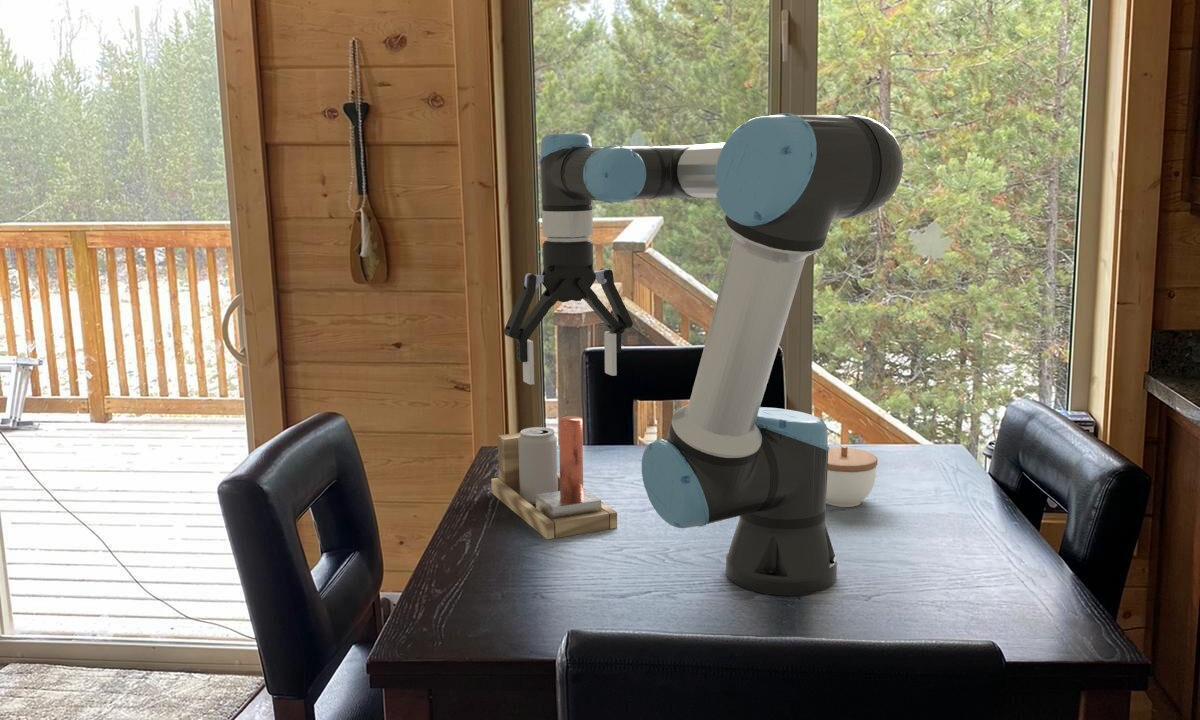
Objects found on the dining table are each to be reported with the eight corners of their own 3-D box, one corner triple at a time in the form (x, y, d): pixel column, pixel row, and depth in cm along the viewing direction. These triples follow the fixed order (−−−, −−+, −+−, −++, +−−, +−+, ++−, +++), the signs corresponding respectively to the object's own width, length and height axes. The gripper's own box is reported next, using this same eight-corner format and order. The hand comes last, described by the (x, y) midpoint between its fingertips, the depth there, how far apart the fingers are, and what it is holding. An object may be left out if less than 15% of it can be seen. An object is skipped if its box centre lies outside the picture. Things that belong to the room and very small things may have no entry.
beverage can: (556, 506, 184) (555, 435, 182) (518, 506, 184) (516, 435, 182) (559, 493, 190) (557, 425, 188) (521, 493, 190) (519, 425, 188)
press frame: (617, 527, 174) (616, 465, 172) (546, 539, 169) (545, 476, 167) (555, 483, 196) (554, 428, 194) (491, 492, 191) (490, 436, 189)
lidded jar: (870, 491, 190) (873, 438, 188) (880, 512, 179) (882, 456, 178) (807, 490, 191) (808, 437, 189) (812, 511, 180) (814, 455, 179)
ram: (601, 524, 174) (600, 418, 171) (553, 532, 171) (551, 425, 168) (583, 511, 181) (582, 409, 177) (536, 518, 177) (534, 414, 174)
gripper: (631, 233, 175) (632, 366, 179) (480, 241, 165) (484, 381, 169) (653, 236, 168) (654, 374, 172) (496, 245, 158) (501, 391, 162)
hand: (570, 378), depth 170 cm, fingers open, 13 cm apart
